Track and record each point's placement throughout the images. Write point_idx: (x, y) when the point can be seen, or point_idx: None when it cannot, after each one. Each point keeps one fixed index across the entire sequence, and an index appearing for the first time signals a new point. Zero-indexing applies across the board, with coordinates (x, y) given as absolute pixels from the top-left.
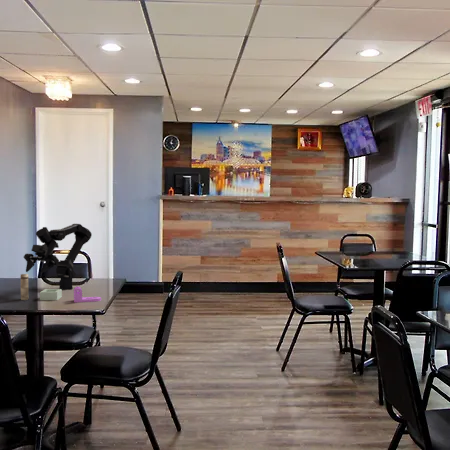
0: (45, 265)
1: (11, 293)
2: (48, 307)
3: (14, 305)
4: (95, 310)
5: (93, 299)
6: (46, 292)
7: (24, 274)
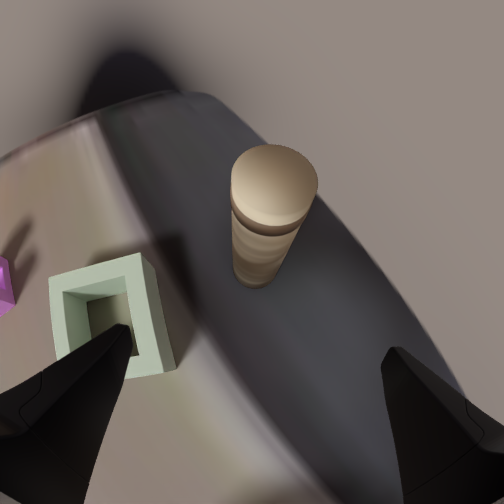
0: (30, 380)
1: None
2: (71, 153)
3: (213, 139)
4: None
5: None
6: (101, 263)
7: (277, 178)
